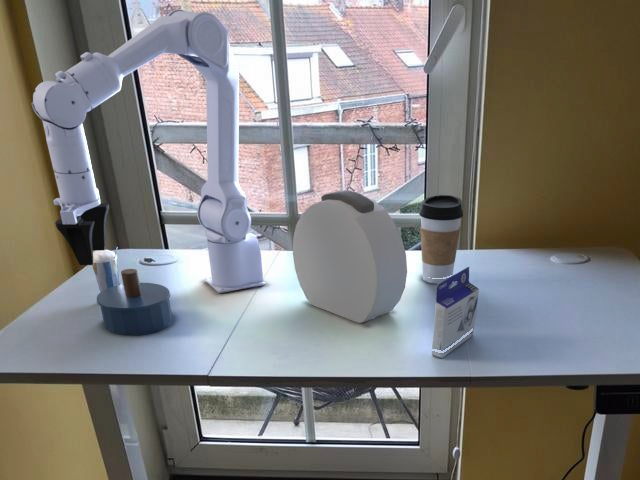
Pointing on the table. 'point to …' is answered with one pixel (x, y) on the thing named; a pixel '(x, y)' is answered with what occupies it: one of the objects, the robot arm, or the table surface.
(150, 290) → the lid
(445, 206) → the coffee cup
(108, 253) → the milkshake
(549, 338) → the table surface
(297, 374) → the table surface
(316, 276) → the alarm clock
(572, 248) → the table surface
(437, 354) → the ink box
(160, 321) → the tin
